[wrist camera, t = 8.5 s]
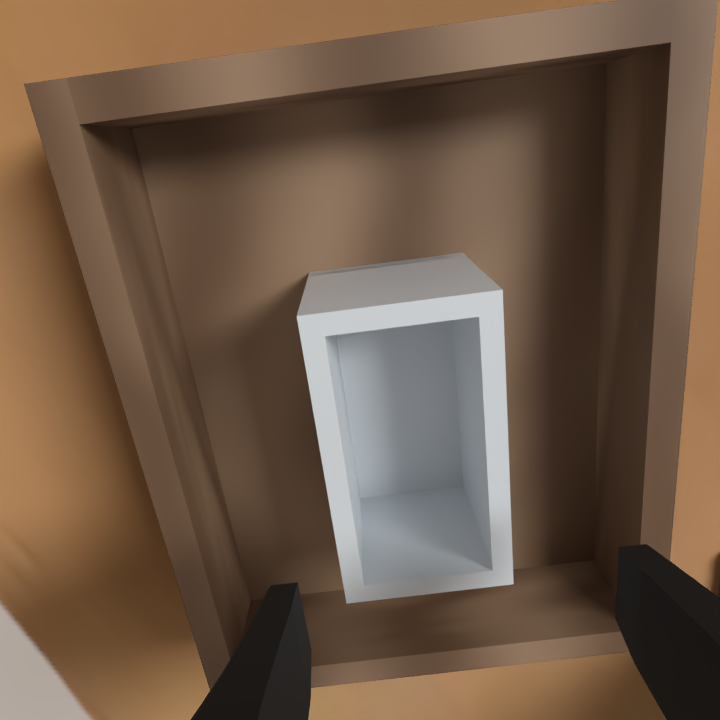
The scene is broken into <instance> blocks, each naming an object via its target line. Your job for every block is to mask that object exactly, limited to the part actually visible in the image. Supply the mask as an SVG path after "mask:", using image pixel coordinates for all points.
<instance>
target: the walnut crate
mask: <svg viewBox="0 0 720 720" xmlns="http://www.w3.org/2000/svg"><path fill="white" fill-rule="evenodd" d="M717 3H718V0H616V1H609V2H602V3H595V4H588V5H581V6H574V7H567V8H559V9H552V10H545V11H538V12H531V13H524V14H517V15H510V16H503V17H496V18H489V19H481V20H474V21H467V22H460V23H453V24H446V25H439V26H432V27H425V28H418V29H411V30H403V31H396V32H389V33H382V34H375V35H368V36H361V37H354V38H347V39H340V40H333V41H325V42H318V43H311V44H304V45H297V46H290V47H283V48H276V49H269V50H262V51H255V52H247V53H240V54H233V55H226V56H219V57H212V58H205V59H198V60H191V61H184V62H177V63H169V64H162V65H155V66H148V67H141V68H134V69H127V70H120V71H113V72H106V73H99V74H91V75H84V76H77V77H70V78H63V79H56V80H49V81H42V82H35V83H28V84H24V86H25V89H26V92H27V95H28V99H29V102H30V105H31V108H32V112H33V115H34V118H35V121H36V125H37V128H38V131H39V134H40V138H41V141H42V144H43V148H44V151H45V154H46V157H47V161H48V164H49V167H50V170H51V174H52V177H53V180H54V183H55V187H56V190H57V193H58V196H59V200H60V203H61V206H62V209H63V213H64V216H65V219H66V222H67V226H68V229H69V232H70V235H71V239H72V242H73V245H74V248H75V252H76V255H77V258H78V261H79V265H80V268H81V271H82V274H83V278H84V281H85V284H86V288H87V291H88V294H89V297H90V301H91V304H92V307H93V310H94V314H95V317H96V320H97V323H98V327H99V330H100V333H101V336H102V340H103V343H104V346H105V349H106V353H107V356H108V359H109V362H110V366H111V369H112V372H113V375H114V379H115V382H116V385H117V388H118V392H119V395H120V398H121V401H122V405H123V408H124V411H125V415H126V418H127V421H128V424H129V428H130V431H131V434H132V437H133V441H134V444H135V447H136V450H137V454H138V457H139V460H140V463H141V467H142V470H143V473H144V476H145V480H146V483H147V486H148V489H149V493H150V496H151V499H152V502H153V506H154V509H155V512H156V515H157V519H158V522H159V525H160V528H161V532H162V535H163V538H164V542H165V545H166V548H167V551H168V555H169V558H170V561H171V564H172V568H173V571H174V574H175V577H176V581H177V584H178V587H179V590H180V594H181V597H182V600H183V603H184V607H185V610H186V613H187V616H188V620H189V623H190V626H191V629H192V633H193V636H194V639H195V642H196V646H197V649H198V652H199V655H200V659H201V662H202V665H203V669H204V672H205V675H206V678H207V682H208V685H209V688H210V690H211V689H212V687H213V686H214V684H215V683H216V681H217V680H218V678H219V677H220V675H221V673H222V672H223V670H224V669H225V667H226V665H227V664H228V662H229V660H230V658H231V657H232V655H233V653H234V652H235V650H236V648H237V646H238V645H239V643H240V641H241V640H242V638H243V636H244V634H245V632H246V631H247V629H248V627H249V625H250V623H251V621H252V619H253V617H254V615H255V614H256V612H257V610H258V608H259V606H260V604H261V602H262V600H263V597H264V595H265V593H266V591H267V589H268V588H269V587H270V586H271V585H278V584H287V583H296V582H298V586H299V591H300V596H301V601H302V606H303V611H304V615H305V620H306V625H307V630H308V635H309V640H310V645H311V650H312V652H311V688H314V687H323V686H332V685H341V684H350V683H358V682H367V681H376V680H385V679H394V678H403V677H411V676H420V675H429V674H438V673H447V672H456V671H464V670H473V669H482V668H491V667H500V666H509V665H517V664H526V663H535V662H544V661H553V660H562V659H570V658H579V657H588V656H597V655H606V654H615V653H624V652H629V649H628V647H627V645H626V643H625V640H624V638H623V636H622V633H621V631H620V629H619V626H618V624H617V622H616V619H615V609H616V589H617V570H618V551H619V547H623V546H632V545H641V544H647V545H649V546H650V547H651V548H653V549H654V550H655V551H657V552H658V553H660V554H661V555H662V556H664V557H665V558H666V559H668V560H669V561H670V552H671V540H672V528H673V517H674V505H675V493H676V482H677V470H678V458H679V447H680V435H681V423H682V412H683V400H684V388H685V377H686V365H687V353H688V342H689V330H690V318H691V307H692V295H693V283H694V272H695V260H696V248H697V237H698V225H699V213H700V202H701V190H702V178H703V167H704V155H705V143H706V132H707V120H708V108H709V97H710V85H711V73H712V62H713V50H714V38H715V27H716V15H717ZM456 253H464V254H465V255H466V256H467V257H468V258H469V259H470V260H471V261H472V262H473V263H474V264H475V265H477V266H478V267H479V268H480V269H481V270H482V271H483V272H484V273H485V274H486V275H487V276H488V277H490V278H491V279H492V280H493V281H494V282H495V283H496V284H497V285H498V286H499V287H500V288H501V289H502V290H503V311H504V338H505V365H506V392H507V419H508V446H509V473H510V500H511V527H512V554H513V581H514V584H511V585H503V586H494V587H486V588H477V589H468V590H460V591H451V592H443V593H434V594H425V595H417V596H408V597H399V598H391V599H382V600H374V601H365V602H356V603H348V604H346V598H345V592H344V586H343V581H342V575H341V569H340V563H339V558H338V552H337V546H336V540H335V534H334V529H333V523H332V517H331V511H330V506H329V500H328V494H327V488H326V483H325V477H324V471H323V465H322V460H321V454H320V448H319V442H318V437H317V431H316V425H315V419H314V414H313V408H312V402H311V396H310V391H309V385H308V379H307V373H306V368H305V362H304V356H303V350H302V344H301V339H300V333H299V327H298V321H297V313H298V310H299V306H300V303H301V299H302V296H303V293H304V289H305V286H306V282H307V279H308V275H309V273H311V272H318V271H326V270H334V269H341V268H349V267H357V266H364V265H372V264H380V263H387V262H395V261H403V260H410V259H418V258H426V257H433V256H441V255H449V254H456Z"/></svg>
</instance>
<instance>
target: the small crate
mask: <svg viewBox="0 0 720 720" xmlns="http://www.w3.org/2000/svg"><path fill="white" fill-rule="evenodd" d="M297 321H298V327H299V333H300V339H301V344H302V350H303V356H304V362H305V368H306V373H307V379H308V385H309V391H310V396H311V402H312V408H313V414H314V419H315V425H316V431H317V437H318V442H319V448H320V454H321V460H322V465H323V471H324V477H325V483H326V488H327V494H328V500H329V506H330V511H331V517H332V523H333V529H334V534H335V540H336V546H337V552H338V558H339V563H340V569H341V575H342V581H343V586H344V592H345V598H346V604H348V603H356V602H365V601H374V600H382V599H391V598H399V597H408V596H417V595H425V594H434V593H443V592H451V591H460V590H468V589H477V588H486V587H494V586H503V585H511V584H514V581H513V554H512V527H511V500H510V473H509V446H508V419H507V392H506V365H505V338H504V311H503V290H502V289H501V288H500V287H499V286H498V285H497V284H496V283H495V282H494V281H493V280H492V279H491V278H490V277H488V276H487V275H486V274H485V273H484V272H483V271H482V270H481V269H480V268H479V267H478V266H477V265H475V264H474V263H473V262H472V261H471V260H470V259H469V258H468V257H467V256H466V255H465V254H464V253H456V254H449V255H441V256H433V257H426V258H418V259H410V260H403V261H395V262H387V263H380V264H372V265H364V266H357V267H349V268H341V269H334V270H326V271H318V272H311V273H309V275H308V279H307V282H306V286H305V289H304V293H303V296H302V299H301V303H300V306H299V310H298V313H297Z"/></svg>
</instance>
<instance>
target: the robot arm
mask: <svg viewBox="0 0 720 720" xmlns="http://www.w3.org/2000/svg"><path fill="white" fill-rule="evenodd" d="M615 619H616V622H617V624H618V626H619V629H620V631H621V633H622V636H623V638H624V640H625V643H626V645H627V647H628V649H629V652H630V654H631V656H632V658H633V661H634V663H635V665H636V667H637V668H638V670H639V672H640V674H641V676H642V677H643V679H644V681H645V683H646V684H647V686H648V688H649V690H650V691H651V693H652V695H653V697H654V698H655V700H656V702H657V703H658V705H659V707H660V709H661V710H662V712H663V714H664V715H665V717H666V719H667V720H720V598H719V597H718V596H716V595H715V594H714V593H712V592H711V591H710V590H708V589H707V588H705V587H704V586H703V585H701V584H700V583H699V582H697V581H696V580H695V579H693V578H692V577H690V576H689V575H688V574H686V573H685V572H684V571H682V570H681V569H680V568H678V567H677V566H676V565H674V564H673V563H672V562H670V561H669V560H668V559H666V558H665V557H664V556H662V555H661V554H660V553H658V552H657V551H655V550H654V549H653V548H651V547H650V546H649V545H647V544H641V545H632V546H623V547H619V551H618V570H617V589H616V609H615ZM311 652H312V650H311V645H310V640H309V635H308V630H307V625H306V620H305V615H304V611H303V606H302V601H301V596H300V591H299V586H298V582H296V583H287V584H278V585H271V586H270V587H269V588H268V589H267V591H266V593H265V595H264V597H263V600H262V602H261V604H260V606H259V608H258V610H257V612H256V614H255V615H254V617H253V619H252V621H251V623H250V625H249V627H248V629H247V631H246V632H245V634H244V636H243V638H242V640H241V641H240V643H239V645H238V646H237V648H236V650H235V652H234V653H233V655H232V657H231V658H230V660H229V662H228V664H227V665H226V667H225V669H224V670H223V672H222V673H221V675H220V677H219V678H218V680H217V681H216V683H215V684H214V686H213V687H212V689H211V690H210V692H209V693H208V695H207V697H206V698H205V700H204V701H203V703H202V704H201V706H200V707H199V709H198V710H197V711H196V713H195V714H194V716H193V717H192V718H191V720H308V716H309V708H310V699H311Z"/></svg>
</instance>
